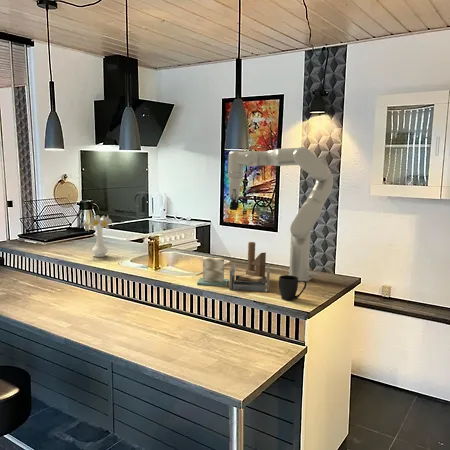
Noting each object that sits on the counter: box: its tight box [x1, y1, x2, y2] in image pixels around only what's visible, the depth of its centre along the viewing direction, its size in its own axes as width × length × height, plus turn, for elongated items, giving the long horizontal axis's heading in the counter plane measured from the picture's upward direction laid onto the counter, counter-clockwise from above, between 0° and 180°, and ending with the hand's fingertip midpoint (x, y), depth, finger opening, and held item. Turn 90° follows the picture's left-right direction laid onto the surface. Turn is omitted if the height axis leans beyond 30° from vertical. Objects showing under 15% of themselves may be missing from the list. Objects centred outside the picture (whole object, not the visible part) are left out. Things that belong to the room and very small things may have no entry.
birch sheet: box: [202, 257, 225, 282], centre depth 215 cm, size 10×2×11 cm, turn 85°
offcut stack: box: [237, 273, 263, 282], centre depth 216 cm, size 12×5×4 cm, turn 58°
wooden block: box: [245, 241, 267, 277], centre depth 226 cm, size 4×11×18 cm, turn 39°
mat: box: [196, 277, 229, 287], centre depth 216 cm, size 14×10×1 cm
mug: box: [278, 274, 308, 302], centre depth 192 cm, size 8×12×10 cm
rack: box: [229, 261, 271, 293], centre depth 212 cm, size 18×18×9 cm
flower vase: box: [81, 214, 114, 258], centre depth 267 cm, size 13×18×25 cm
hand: (234, 208), depth 230 cm, fingers open, 9 cm apart
